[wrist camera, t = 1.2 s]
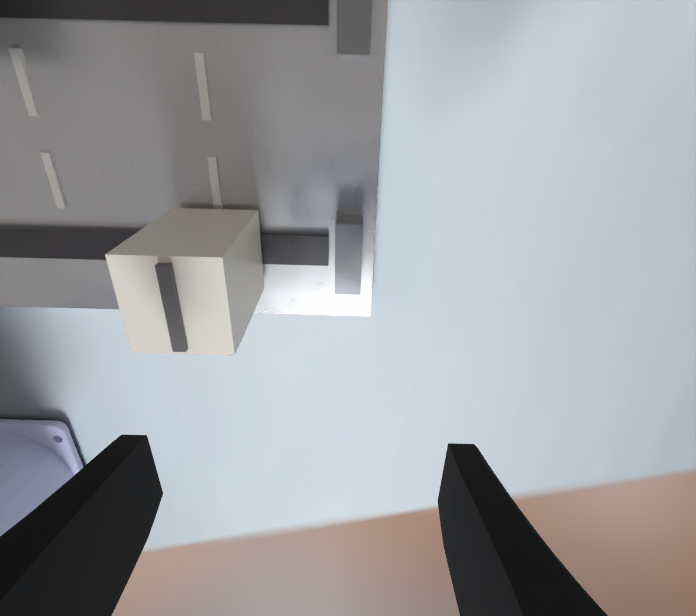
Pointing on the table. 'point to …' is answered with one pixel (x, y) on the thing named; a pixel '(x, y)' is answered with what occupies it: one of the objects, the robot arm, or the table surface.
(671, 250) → the table surface
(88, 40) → the console
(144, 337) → the block
